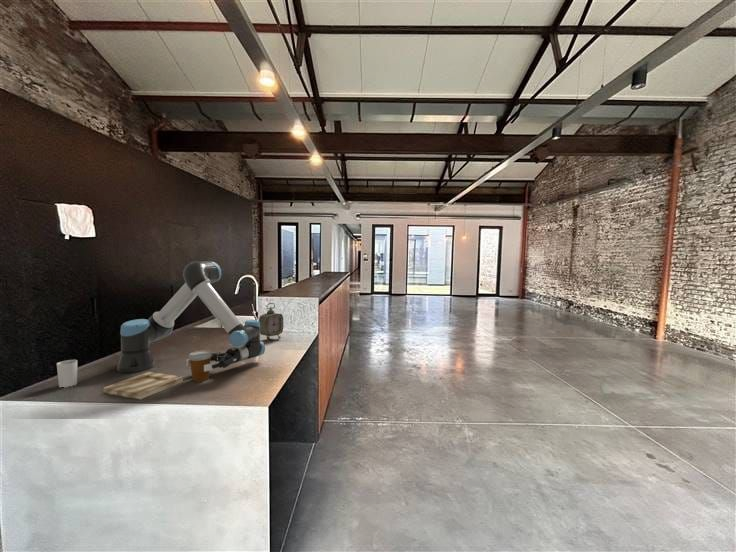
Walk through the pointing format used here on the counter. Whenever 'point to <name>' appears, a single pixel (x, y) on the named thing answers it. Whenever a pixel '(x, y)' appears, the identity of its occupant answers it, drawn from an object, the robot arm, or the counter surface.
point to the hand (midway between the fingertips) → (195, 365)
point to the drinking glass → (67, 373)
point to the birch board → (143, 385)
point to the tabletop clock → (271, 323)
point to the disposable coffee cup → (199, 364)
